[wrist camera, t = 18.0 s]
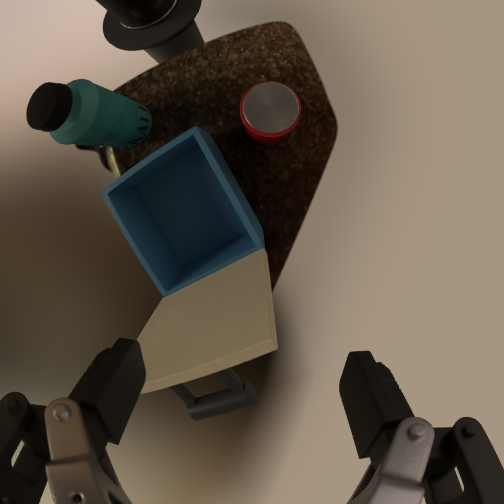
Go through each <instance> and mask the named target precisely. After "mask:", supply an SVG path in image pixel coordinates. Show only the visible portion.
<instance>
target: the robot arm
mask: <svg viewBox="0 0 504 504" xmlns="http://www.w3.org/2000/svg"><path fill="white" fill-rule="evenodd" d="M96 1H97V2H98V3H99V4H100V5H102V6H103V7H104V8H105V9H106V10H107V11H109V12H110V13H111V14H112V15H113V16H114V17H115V18H116V19H117V20H119V21H120V23H121V24H122V25H123V26H124V27H125V28H127V29H129V30H144V29H148V28H151V27H153V26H156V25H158V24H159V23H161V22H162V21H164V20H165V19H167V18H168V17H169V16H170V15H171V14H172V13H173V11H174V10H175V8H176V6H177V4H178V0H96ZM145 380H146V368H145V364H144V360H143V356H142V351H141V347H140V343H139V342H138V341H137V340H131V339H125V338H119V339H118V340H117V341H116V343H115V344H114V345H113V347H112V348H106V349H105V350H103V351H102V352H101V353H99V354H97V356H96V357H95V359H94V360H93V362H92V363H91V365H90V366H89V367H88V369H87V371H86V372H85V373H84V374H83V376H82V377H81V379H80V380H79V381H78V383H77V384H76V386H75V387H74V389H73V390H72V392H71V394H70V395H69V396H68V398H58V399H55V400H53V401H51V402H50V403H49V404H48V405H47V406H42V405H34V404H30V403H29V402H28V400H27V398H26V397H25V396H24V395H23V394H22V393H19V392H11V393H8V394H6V395H5V396H4V397H3V398H2V399H1V400H0V504H39V502H40V499H41V496H42V494H43V491H44V489H45V486H46V483H47V481H48V482H49V487H50V490H51V494H52V497H53V501H54V504H132V503H131V501H130V500H129V498H128V497H127V495H126V494H125V492H124V491H123V489H122V487H121V485H120V482H119V480H118V478H117V476H116V473H115V471H114V469H113V466H112V464H111V461H110V459H109V456H108V453H107V451H106V449H105V447H106V445H107V443H108V442H110V443H113V444H117V445H118V444H119V442H120V439H121V437H122V434H123V432H124V430H125V427H126V425H127V422H128V420H129V418H130V415H131V413H132V411H133V409H134V406H135V404H136V402H137V400H138V397H139V395H140V393H141V391H142V388H143V386H144V384H145ZM339 392H340V396H341V399H342V402H343V406H344V409H345V412H346V415H347V419H348V422H349V425H350V429H351V432H352V435H353V439H354V443H355V446H356V449H357V453H358V456H359V459H362V458H367V457H370V460H371V463H370V465H369V466H368V468H367V470H366V472H365V474H364V476H363V478H362V480H361V481H360V483H359V485H358V486H357V488H356V490H355V491H354V493H353V495H352V497H351V498H350V500H349V501H348V503H347V504H421V502H422V499H423V496H424V497H425V501H426V504H504V469H503V467H502V465H501V463H500V460H499V458H498V456H497V454H496V452H495V450H494V448H493V446H492V444H491V442H490V440H489V438H488V436H487V435H486V433H485V431H484V429H483V427H482V425H481V424H480V423H479V422H478V421H477V420H476V419H474V418H471V417H463V418H461V419H459V420H458V421H457V422H456V423H455V424H454V425H453V427H446V428H433V427H432V426H431V424H430V423H429V422H428V421H426V420H425V419H423V418H419V417H415V416H414V414H413V412H412V410H411V408H410V407H409V404H408V403H407V401H406V399H405V397H404V395H403V393H402V392H401V389H399V386H398V384H397V382H396V381H395V378H394V377H393V375H392V373H391V371H390V370H389V369H388V368H387V367H386V366H385V365H383V364H382V363H381V362H377V363H376V362H375V360H374V358H373V356H372V354H371V352H370V351H355V352H350V353H349V354H348V357H347V360H346V363H345V366H344V370H343V373H342V376H341V379H340V383H339ZM21 440H22V441H23V442H24V446H23V448H22V450H21V451H20V453H19V456H18V457H17V459H16V462H15V464H14V466H13V467H12V465H11V459H12V457H13V455H14V453H15V451H16V449H17V447H18V445H19V443H20V442H21ZM455 467H457V469H458V471H459V474H460V477H461V479H462V482H463V485H464V491H462V488H461V485H460V482H459V480H458V477H457V475H456V472H455V469H454V468H455Z"/></svg>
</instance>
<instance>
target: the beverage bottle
mask: <svg viewBox="0 0 504 504" xmlns="http://www.w3.org/2000/svg"><path fill="white" fill-rule="evenodd" d="M133 100H134V99H133ZM133 100H131V98H130V99H129V97H128V98H127V97H126V96H125V95H124V96H123V95H122V94H117V93H115V92H113V91H110V90H108V89H106V88H104V87H101V86H99V85H96V84H94V83H92V82H91V81H89V80H85V79H78V80H74V81H72V82H70V83H68V84H66V85H65V84H60V83H51V82H48V83H44V84H42V85H41V86H40V87H39V88H37V89H36V91H35V92H34V93H33V95H32V96H31V98H30V101H29V103H28V107H27V121H28V124H29V125H30V127H32V128H33V129H37V130H42V131H45V132H50V135H51V137H52V138H53V139H54V140H55V141H56V142H58V143H60V144H67V145H68V144H81V145H92V146H91V147H94V146H96V145H97V146H98V147H100V146H105V147H106V146H112V147H116V148H118V147H125V148H129V147H133V148H134V146H137V145H138V144H140V143H142V142H143V141H144V140H145V139H146V137H147V136H148V134H149V132H150V130H151V126H152V117H151V115H150V112H149V110H148V109H147V108H146V107H145V106H144V105H141V104H139V103H138V102H135V101H133ZM110 148H111V147H110ZM129 149H130V148H129Z"/></svg>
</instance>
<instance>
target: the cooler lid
mask: <svg viewBox="0 0 504 504" xmlns="http://www.w3.org/2000/svg"><path fill="white" fill-rule="evenodd" d="M137 341H138V342H139V343H140V347H141V351H142V356H143V360H144V364H145V368H146V380H145V384H144V386H143V388H142V391H141V393H140V394H144V393H148V392H151V391H155V390H159V389H163V388H166V387H169V388H170V389H171V390H172V391H173V392H174V393H175V394H176V395H177V396H178V397H179V398H180V399H181V400H182V401H183V402H184V403H185V404H186V405H187V411H188V413H189V415H190V416H191V418H192V419H194V420H201V419H206V418H210V417H214V416H219V415H222V414H226V413H230V412H234V411H238V410H241V409H244V408H248V407H251V406H255V405H256V404H257V396H256V392H255V390H254V388H253V386H252V385H251V384H250V383H248V382H246V383H242V382H241V380H239V378H238V377H237V376H236V375H235V373H234V372H233V371H232V369H231V368H230V367H232V366H235V365H237V364H240V363H243V362H246V361H248V360H251V359H253V358H256V357H259V356H261V355H264V354H266V353H269V352H271V351H273V350H276V349H278V345H277V336H276V327H275V319H274V309H273V301H272V292H271V283H270V275H269V266H268V258H267V253H266V251H265V249H264V248H262V249H260V250H258V251H256V252H254V253H252V254H250V255H248V256H246V257H244V258H242V259H240V260H238V261H236V262H234V263H232V264H230V265H228V266H226V267H224V268H222V269H220V270H218V271H216V272H214V273H212V274H210V275H208V276H206V277H204V278H202V279H200V280H198V281H196V282H194V283H192V284H190V285H188V286H186V287H184V288H182V289H180V290H178V291H176V292H174V293H172V294H170V295H168V296H166V297H164V298H163V299H162V300H161V302H160V303H159V305H158V306H157V308H156V310H155V311H154V313H153V314H152V316H151V318H150V319H149V321H148V322H147V324H146V326H145V327H144V329H143V330H142V332H141V334H140V335H139V337H138V339H137ZM215 372H217V373H218V375H219V376H220V377H221V378H222V379H223V380H224V382H225V383H226V384H227V385H228V386H229V387H230V388H228V389H225V390H222V391H218V392H215V393H212V394H208V395H204V396H201V397H197V398H196V397H195V396H194V395H193V394H192V393H191V392H190V391H189V390H188V389H187V388H186V387H185V386H184V385H183V384H182V383H184V382H187V381H190V380H193V379H196V378H199V377H203V376H206V375H209V374H212V373H215Z"/></svg>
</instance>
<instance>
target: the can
mask: <svg viewBox="0 0 504 504" xmlns="http://www.w3.org/2000/svg"><path fill="white" fill-rule="evenodd" d="M240 115H241V118H242V122H243V125H244V128H245V131H246V134H247V135H248V137H249V138H250V139H251V140H252V141H254V142H256V143H258V144H261V145H272V144H275V143H278V142H279V141H281V140H282V139H283V138H284V137H285V136H286V135H287V134H288V133H289V132H290V131H291V130H292V129H293V128H294V127H295V126H296V125H297V123H298V121H299V119H300V115H301V105H300V101H299V99H298V97H297V95H296V94H295V93H294V92H293V90H291V89H290V88H289V87H288V86H286V85H284V84H282V83H279V82H274V81H265V82H260V83H257V84H255V85H253V86H252V87H250V88H249V89H248V90H247V91H246V92H245V93H244V95H243V97H242V99H241V102H240Z"/></svg>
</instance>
